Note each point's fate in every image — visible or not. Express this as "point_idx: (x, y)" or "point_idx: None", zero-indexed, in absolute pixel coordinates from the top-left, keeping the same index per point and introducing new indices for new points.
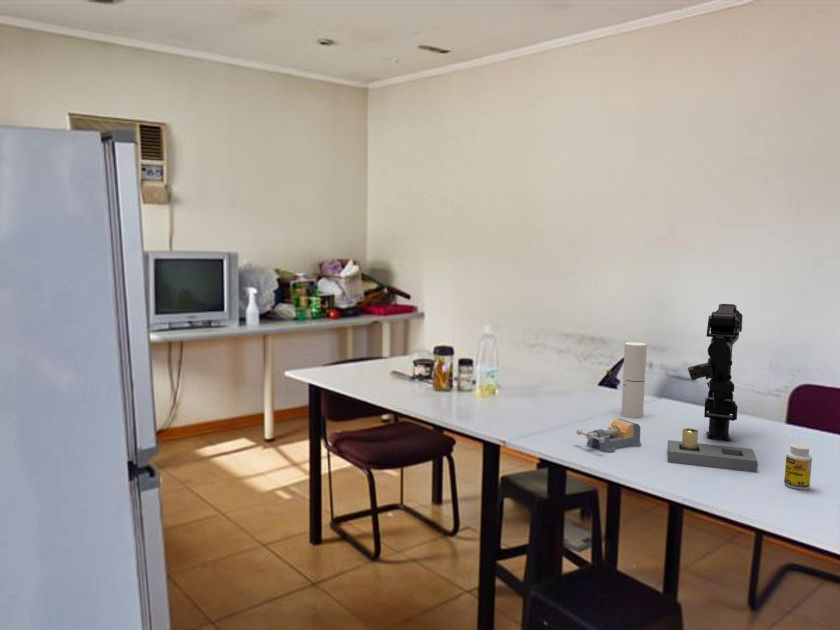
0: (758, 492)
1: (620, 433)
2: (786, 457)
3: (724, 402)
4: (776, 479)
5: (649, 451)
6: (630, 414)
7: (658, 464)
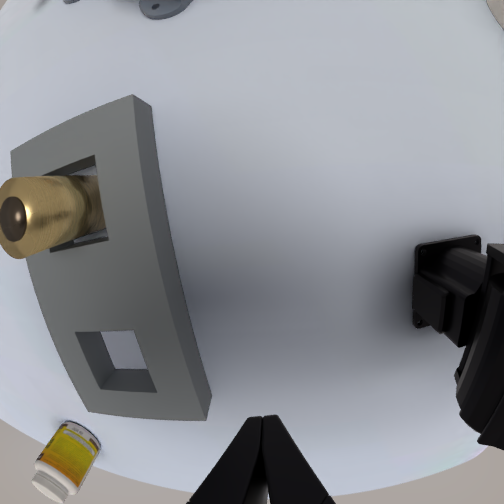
0: (7, 366)
1: None
2: (42, 458)
3: (498, 402)
4: (88, 417)
5: (108, 62)
6: (493, 2)
7: (13, 138)
